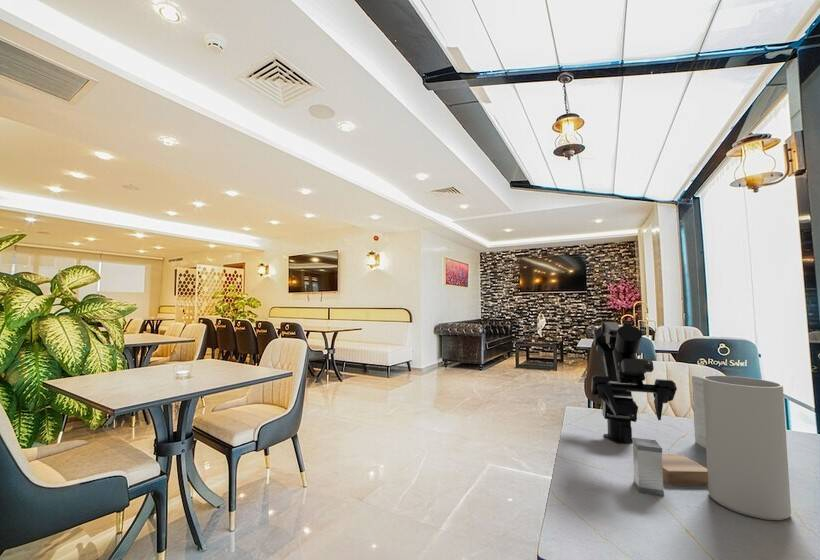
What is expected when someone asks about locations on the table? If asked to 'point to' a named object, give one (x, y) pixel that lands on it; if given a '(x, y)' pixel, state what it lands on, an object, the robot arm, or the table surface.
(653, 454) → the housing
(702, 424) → the hard drive box
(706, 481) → the stand
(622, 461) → the table surface
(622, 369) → the robot arm
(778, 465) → the cylinder vase
